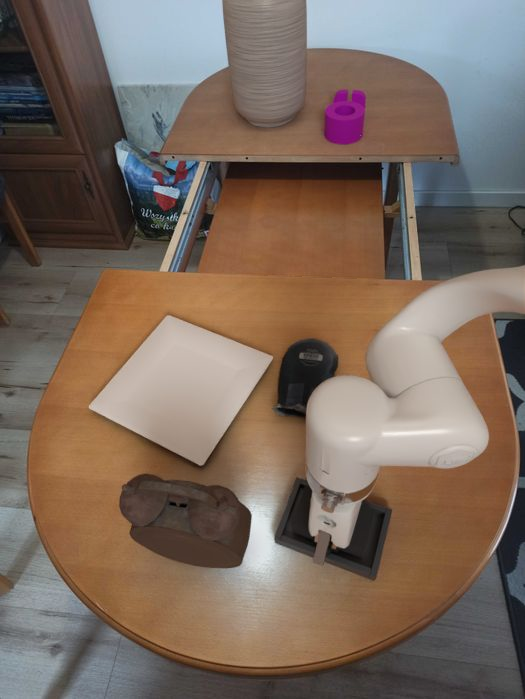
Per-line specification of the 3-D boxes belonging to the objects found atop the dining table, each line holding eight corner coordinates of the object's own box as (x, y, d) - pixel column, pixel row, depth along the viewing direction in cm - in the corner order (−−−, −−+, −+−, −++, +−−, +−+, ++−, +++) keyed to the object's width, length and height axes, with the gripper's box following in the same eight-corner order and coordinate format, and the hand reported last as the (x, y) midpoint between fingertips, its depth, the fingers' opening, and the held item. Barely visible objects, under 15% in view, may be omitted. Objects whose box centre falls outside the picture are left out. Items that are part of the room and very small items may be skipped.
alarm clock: (260, 526, 68) (247, 463, 53) (248, 582, 64) (230, 532, 48) (161, 507, 71) (120, 442, 55) (143, 560, 67) (93, 505, 51)
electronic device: (333, 426, 79) (341, 345, 86) (329, 412, 74) (337, 327, 81) (276, 422, 81) (288, 343, 88) (269, 408, 77) (282, 327, 84)
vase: (253, 93, 147) (242, -48, 121) (317, 103, 141) (320, -43, 114) (221, 126, 136) (202, -20, 110) (289, 138, 130) (285, -14, 104)
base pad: (390, 514, 68) (392, 509, 66) (374, 581, 63) (376, 577, 61) (296, 482, 72) (296, 476, 70) (274, 543, 67) (274, 538, 65)
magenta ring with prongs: (360, 145, 126) (362, 121, 121) (321, 143, 128) (322, 119, 123) (367, 114, 135) (369, 90, 130) (331, 112, 137) (332, 89, 132)
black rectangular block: (372, 518, 67) (375, 508, 64) (362, 558, 64) (364, 550, 61) (305, 494, 69) (305, 484, 66) (292, 532, 66) (291, 523, 63)
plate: (274, 363, 85) (274, 355, 84) (204, 471, 74) (201, 465, 72) (169, 320, 93) (167, 313, 91) (91, 413, 82) (86, 406, 80)
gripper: (355, 559, 46) (343, 601, 60) (395, 408, 55) (376, 475, 70) (279, 530, 48) (285, 577, 62) (330, 390, 57) (325, 459, 72)
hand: (333, 523), depth 66 cm, fingers closed on black rectangular block, 5 cm apart
